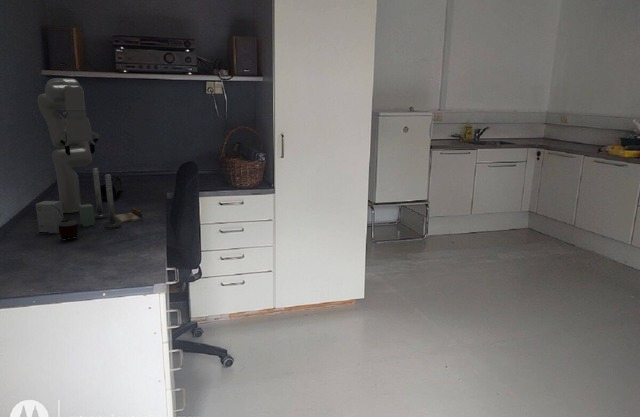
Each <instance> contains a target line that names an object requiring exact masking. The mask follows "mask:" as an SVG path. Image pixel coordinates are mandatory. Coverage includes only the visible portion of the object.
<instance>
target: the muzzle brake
mask: <svg viewBox="0 0 640 417" xmlns="http://www.w3.org/2000/svg"><path fill="white" fill-rule="evenodd" d="M111 182H112V193H113V199H114V198H115V197H116V195H117V193H118V192H119V190H120V189H121V188H122V187H123V181H122V178H121V177H120V176H118V175H116V174H111ZM100 192H101V199H103V200H106V201H107V192H106V181H105V180H104V182H102V184H100Z"/></svg>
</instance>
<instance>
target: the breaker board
mask: <svg viewBox="0 0 640 417" xmlns="http://www.w3.org/2000/svg"><path fill="white" fill-rule="evenodd" d="M143 220H144V218H143V214H142V211H141V210H139V209H137V208H136V207H132V209H131V212H128V213H121V214H115V221H117V222H121V224H123V223H129V222H135V221H143Z"/></svg>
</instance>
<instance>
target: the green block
mask: <svg viewBox="0 0 640 417" xmlns="http://www.w3.org/2000/svg"><path fill="white" fill-rule="evenodd" d="M94 210H95V208H94V205H93V204H91V203H86V204H81V205H79V212H78V213H79V219H80V220H79V221H80V225H81V224H82V225H83V226H86V227H91V226H90V225H93V226H96V219H95V217H94V214H95V211H94ZM82 225H81V226H82ZM83 226H82V227H83Z"/></svg>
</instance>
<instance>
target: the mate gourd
mask: <svg viewBox="0 0 640 417" xmlns="http://www.w3.org/2000/svg"><path fill="white" fill-rule="evenodd" d="M51 205H52V204H51ZM52 206H54V205H52ZM54 207H55V208H56V209H57V210H58V212H59V213H60V215H61V217H62V219H63V220H62V221H61V222H60V223H59V235H60V238H61V240H62V239H68V238H70V239H72V238H73V237H78V233H79V231H78V230H79V225H78V222H77V221H76V220H75V219H72V218H69V219H68V218H67V219H65V218H63V217H64V215H63V216H62V214H61V212H60V210H59V209H58V208H57V207H56V206H54Z"/></svg>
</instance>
